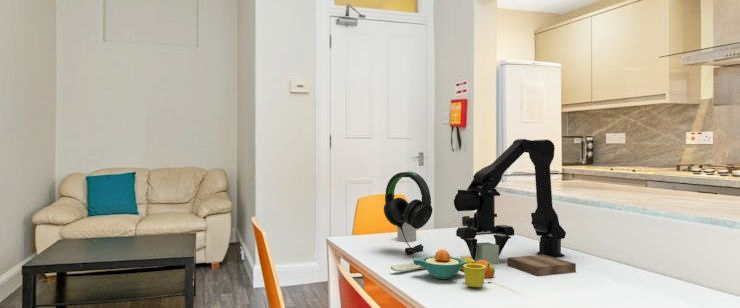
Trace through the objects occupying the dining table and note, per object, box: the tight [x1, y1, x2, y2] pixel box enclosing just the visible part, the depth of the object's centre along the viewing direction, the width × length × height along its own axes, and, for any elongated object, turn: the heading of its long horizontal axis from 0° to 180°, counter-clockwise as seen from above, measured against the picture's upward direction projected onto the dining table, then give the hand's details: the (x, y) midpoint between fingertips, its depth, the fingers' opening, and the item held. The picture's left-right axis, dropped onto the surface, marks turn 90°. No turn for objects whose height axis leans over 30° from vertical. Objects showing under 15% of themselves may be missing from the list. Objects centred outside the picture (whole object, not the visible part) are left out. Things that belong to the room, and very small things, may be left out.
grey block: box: [396, 222, 417, 243], centre depth 190 cm, size 8×8×12 cm
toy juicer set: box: [390, 249, 496, 288], centre depth 140 cm, size 29×18×8 cm, turn 54°
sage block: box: [474, 242, 500, 265], centre depth 154 cm, size 6×6×6 cm
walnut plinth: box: [506, 254, 577, 277], centre depth 146 cm, size 14×14×2 cm
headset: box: [383, 171, 433, 256], centre depth 167 cm, size 18×14×29 cm
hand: (485, 258), depth 154 cm, fingers open, 9 cm apart
